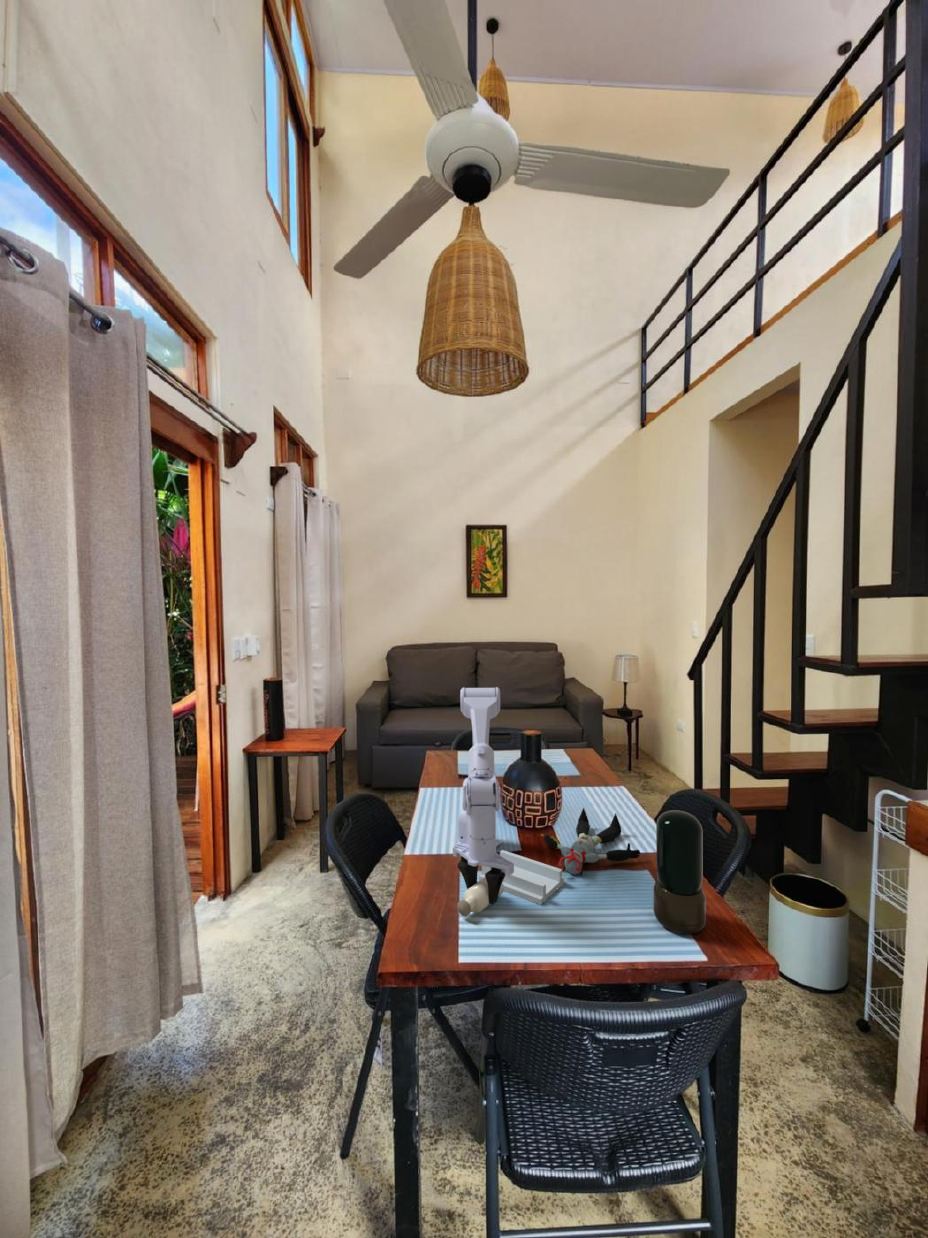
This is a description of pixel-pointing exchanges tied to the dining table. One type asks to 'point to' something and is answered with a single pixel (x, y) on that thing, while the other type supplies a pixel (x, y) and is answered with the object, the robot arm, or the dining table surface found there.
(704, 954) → the dining table surface
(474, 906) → the bottle
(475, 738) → the robot arm
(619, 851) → the toy
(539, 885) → the cradle
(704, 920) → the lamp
